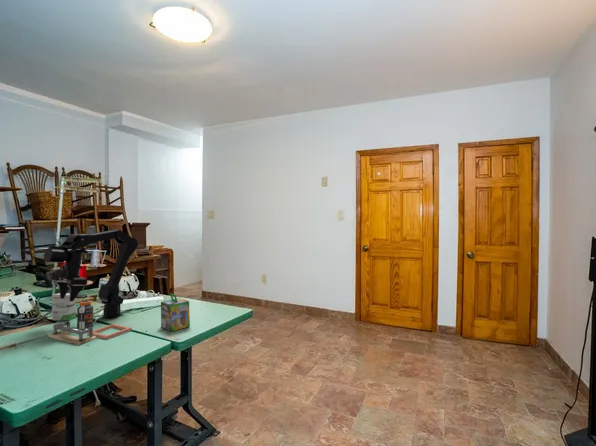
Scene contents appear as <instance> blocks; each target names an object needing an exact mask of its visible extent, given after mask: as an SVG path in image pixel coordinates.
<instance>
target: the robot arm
mask: <svg viewBox="0 0 596 446" xmlns="http://www.w3.org/2000/svg"><path fill="white" fill-rule="evenodd" d="M107 240H108V241H109V240H114V241H115V242H116V243H117V244H118V247H117V248H118V255H117V257H116V261H115V262H114V265H113V268H112V269H111V273H110V275H109V278H108V280H107V282H106V283H105V284H103V283H102V284H101V285H100V288H99V289H98V291H97V293H98V295H97V297H98V299H99V300H100V301H101V304H102V305H104V306H103V311H102V312H103V315H102V316H101V318H104V319H109V320H112V319H115V318H118V317H121V316H124V314H123V313H121V305H123V304H124V301H125V300H124V298H122V296H121V295H119V294H120V285H119V284H120V282H121V279H122V277H123V276H124V275H123V274H124V272H125V270H126V266H127V264H128V262H129V260H130V257H131V255H132V254H134V253H135V252H136V250H137V248H138V247H139V242H138V240H137V239H136V238H134V237H132V236H130V235H128V234H127V233H125V232H124V231H122V230H121V229H112V230H107V231H100V232H93V233H88V234H87V233H86V234H85V233H84V234H83V233H77V234H76V233H73V234H72V233H71V234H69V235H68V236H67V237H66V239H65V241H63V243H61V245H59V246H57V245H48V248H47V249H46V250H45V252H44V253H43V260H44V262H45V263H59V264H60V263H61V264H62V263H64V264H62V265H61V268H57V269H54V270H50V271H46V272H45V273H46V277H47V280H48V281H52V282H54V283H55V284H56V285H57V286H58V291H59V292H58V293H60V298H61V299H64V297H65V295H66V293H68V292H69V293H70V302H72V301H74V299H75V298H76V299H77V296H78V295H79V294H80V293H81V291H82V290H83V288H84V287H85V286H87V285H88V279H87V278H85V277H83V276H81V275H80V271H81V270H82V269H83V266H82V265H81V264H82V260H83V259H82V258H83V254H88V253H89V252H88V251H87V250H86V248H85V247H87V246H90V245H91V244H94V243H98V242H103V241H107Z"/></svg>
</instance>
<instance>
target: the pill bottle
mask: <svg viewBox="0 0 596 446" xmlns="http://www.w3.org/2000/svg"><path fill="white" fill-rule="evenodd" d="M91 304H92V301H91V300H82V301H80V302H79V306H78V307H76V329H78V330H84V329H87V328H90V327H91V328H93V327H94V306H93V305H91Z"/></svg>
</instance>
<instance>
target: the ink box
mask: <svg viewBox="0 0 596 446" xmlns="http://www.w3.org/2000/svg"><path fill="white" fill-rule="evenodd" d="M51 318H52V319H51V320H52V321H71V320H73V319H77V297H76V298H75V299H74V301H72V302H70V292H67V293H66V295H65V297H64V299H61V298H60V292H58V293H54V294H51Z"/></svg>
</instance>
